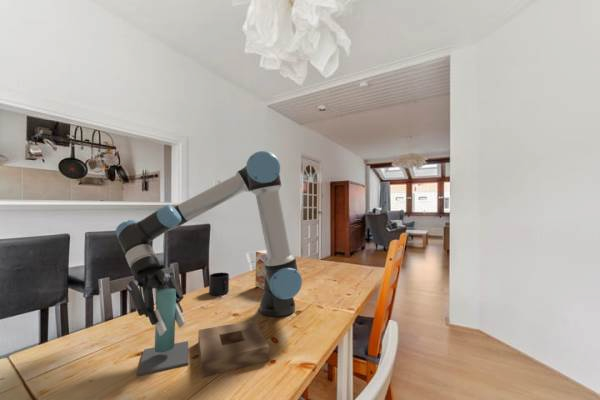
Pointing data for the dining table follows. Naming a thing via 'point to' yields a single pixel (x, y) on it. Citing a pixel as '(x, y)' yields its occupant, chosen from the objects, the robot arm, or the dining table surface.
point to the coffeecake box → (260, 268)
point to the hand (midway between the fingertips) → (173, 328)
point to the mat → (163, 359)
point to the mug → (218, 284)
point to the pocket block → (231, 347)
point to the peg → (166, 319)
